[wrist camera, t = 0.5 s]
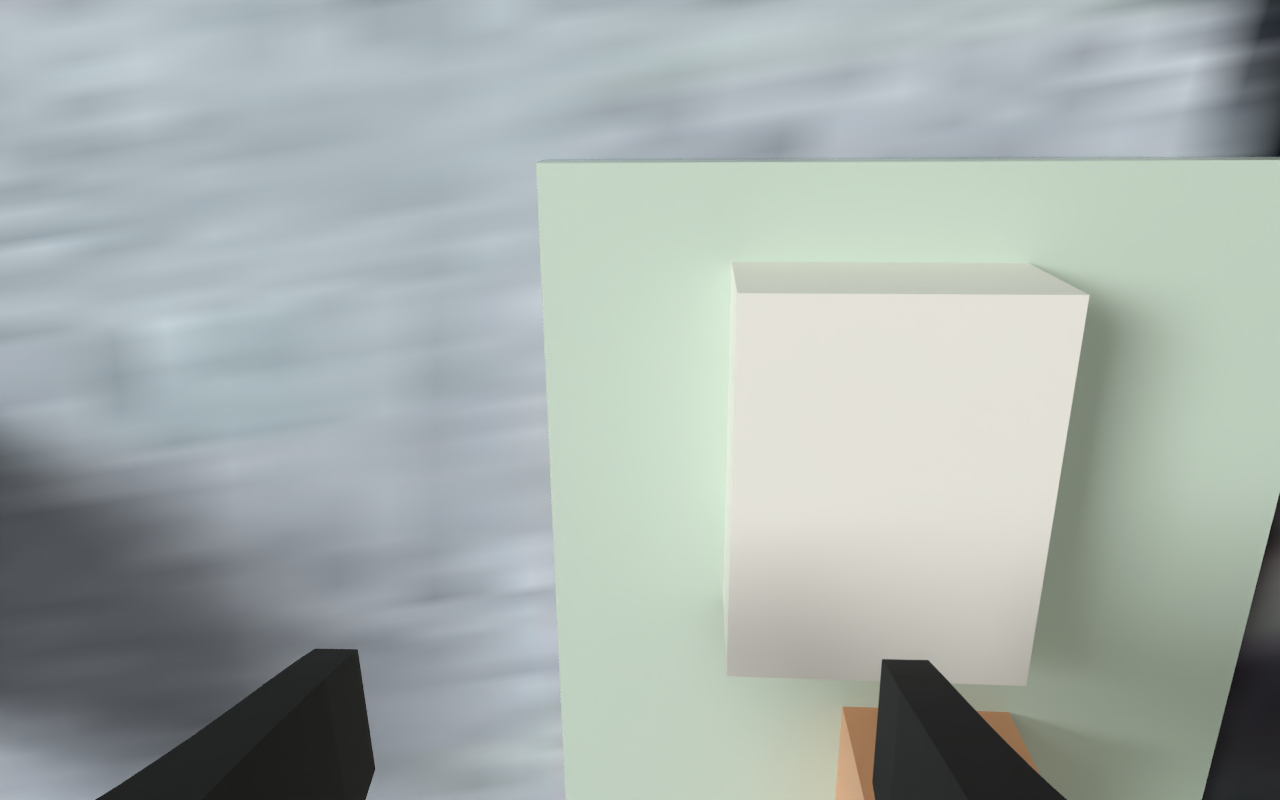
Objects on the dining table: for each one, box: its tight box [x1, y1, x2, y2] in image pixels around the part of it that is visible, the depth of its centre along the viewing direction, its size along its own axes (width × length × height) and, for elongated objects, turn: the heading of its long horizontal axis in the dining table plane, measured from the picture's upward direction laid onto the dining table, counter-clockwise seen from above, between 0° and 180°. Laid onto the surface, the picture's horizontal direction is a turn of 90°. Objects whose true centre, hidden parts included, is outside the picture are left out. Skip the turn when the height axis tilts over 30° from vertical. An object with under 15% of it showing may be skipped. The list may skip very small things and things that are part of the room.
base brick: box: [723, 262, 1090, 686], centre depth 18 cm, size 8×6×3 cm
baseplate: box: [536, 157, 1280, 800], centre depth 21 cm, size 22×16×1 cm
